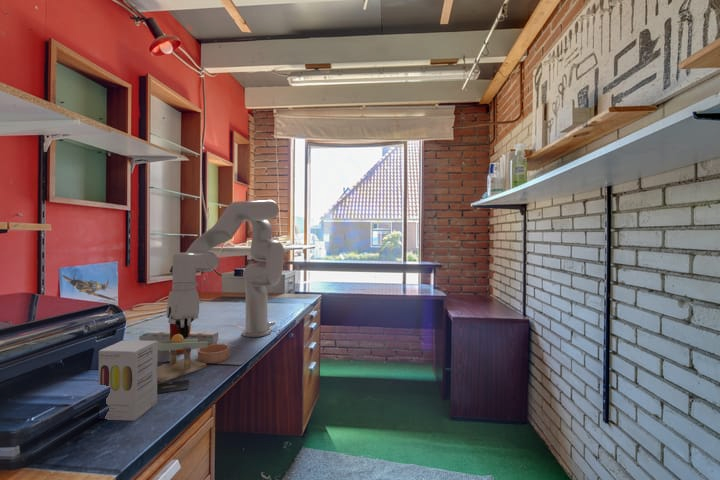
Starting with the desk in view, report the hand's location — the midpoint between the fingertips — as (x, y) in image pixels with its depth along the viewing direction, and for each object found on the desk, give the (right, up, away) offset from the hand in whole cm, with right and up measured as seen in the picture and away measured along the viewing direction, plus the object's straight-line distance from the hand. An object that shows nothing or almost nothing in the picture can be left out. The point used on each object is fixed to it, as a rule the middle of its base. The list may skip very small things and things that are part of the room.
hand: (183, 337), depth 126 cm
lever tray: (+1, -4, -9) cm, 10 cm away
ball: (+4, +2, -12) cm, 12 cm away
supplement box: (+6, -8, -38) cm, 39 cm away
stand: (+3, -8, -12) cm, 15 cm away
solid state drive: (+8, -9, -25) cm, 27 cm away
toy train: (-11, -8, +17) cm, 22 cm away
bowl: (+11, -8, 0) cm, 13 cm away
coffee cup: (-5, -7, +7) cm, 11 cm away
